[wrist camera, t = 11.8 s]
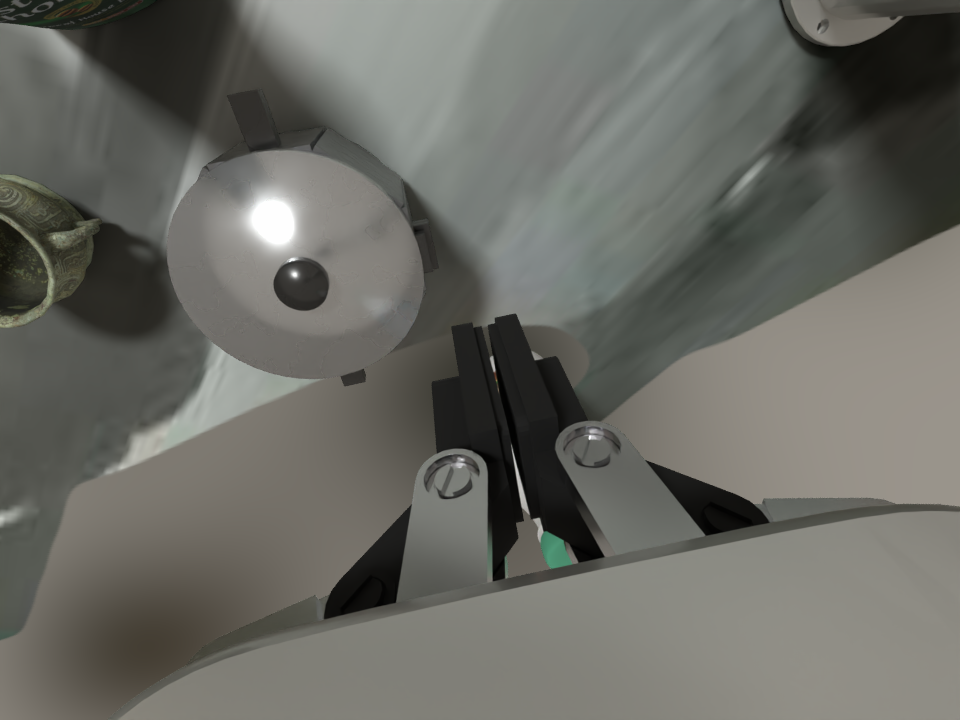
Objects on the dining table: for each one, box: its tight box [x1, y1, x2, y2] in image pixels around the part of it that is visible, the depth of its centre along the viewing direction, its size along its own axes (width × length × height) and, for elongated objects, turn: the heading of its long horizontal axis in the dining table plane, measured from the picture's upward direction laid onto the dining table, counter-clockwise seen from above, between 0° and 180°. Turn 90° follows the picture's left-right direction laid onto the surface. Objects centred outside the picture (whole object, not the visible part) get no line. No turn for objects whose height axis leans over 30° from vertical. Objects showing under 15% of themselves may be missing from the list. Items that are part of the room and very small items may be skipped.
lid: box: [167, 148, 433, 379], centre depth 28 cm, size 15×14×2 cm
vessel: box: [0, 174, 102, 328], centre depth 30 cm, size 12×9×6 cm
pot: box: [197, 89, 438, 386], centre depth 32 cm, size 15×20×8 cm
